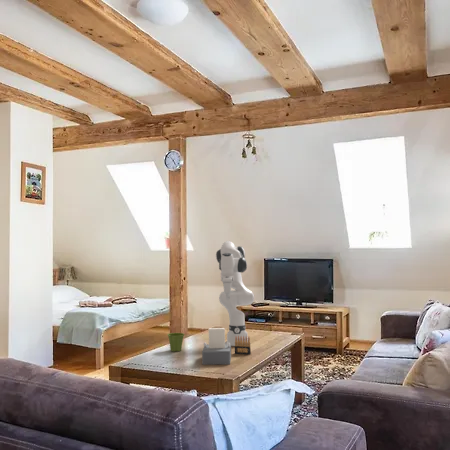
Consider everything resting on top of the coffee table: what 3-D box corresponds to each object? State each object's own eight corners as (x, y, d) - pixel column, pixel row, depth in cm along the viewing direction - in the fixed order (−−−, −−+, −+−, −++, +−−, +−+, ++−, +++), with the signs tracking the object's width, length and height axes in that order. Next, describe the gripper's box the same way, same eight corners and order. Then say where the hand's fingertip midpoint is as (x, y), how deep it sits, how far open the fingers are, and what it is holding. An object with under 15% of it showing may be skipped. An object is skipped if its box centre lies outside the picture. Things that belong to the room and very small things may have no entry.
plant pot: (182, 352, 344) (181, 336, 344) (165, 352, 346) (165, 335, 346) (186, 349, 355) (186, 332, 355) (170, 348, 357) (170, 332, 358)
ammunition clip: (234, 353, 338) (234, 335, 339) (235, 353, 340) (235, 335, 340) (250, 354, 335) (249, 336, 335) (250, 354, 337) (250, 335, 337)
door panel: (209, 347, 322) (209, 328, 323) (225, 347, 322) (224, 328, 322) (208, 348, 319) (208, 329, 320) (224, 348, 319) (224, 328, 319)
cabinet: (205, 356, 331) (204, 339, 331) (231, 356, 330) (230, 339, 330) (202, 364, 310) (202, 346, 310) (230, 364, 309) (229, 346, 310)
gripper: (223, 277, 342) (223, 297, 341) (222, 279, 321) (222, 301, 321) (232, 276, 342) (233, 297, 341) (231, 279, 321) (232, 301, 321)
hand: (227, 299), depth 331 cm, fingers open, 8 cm apart
